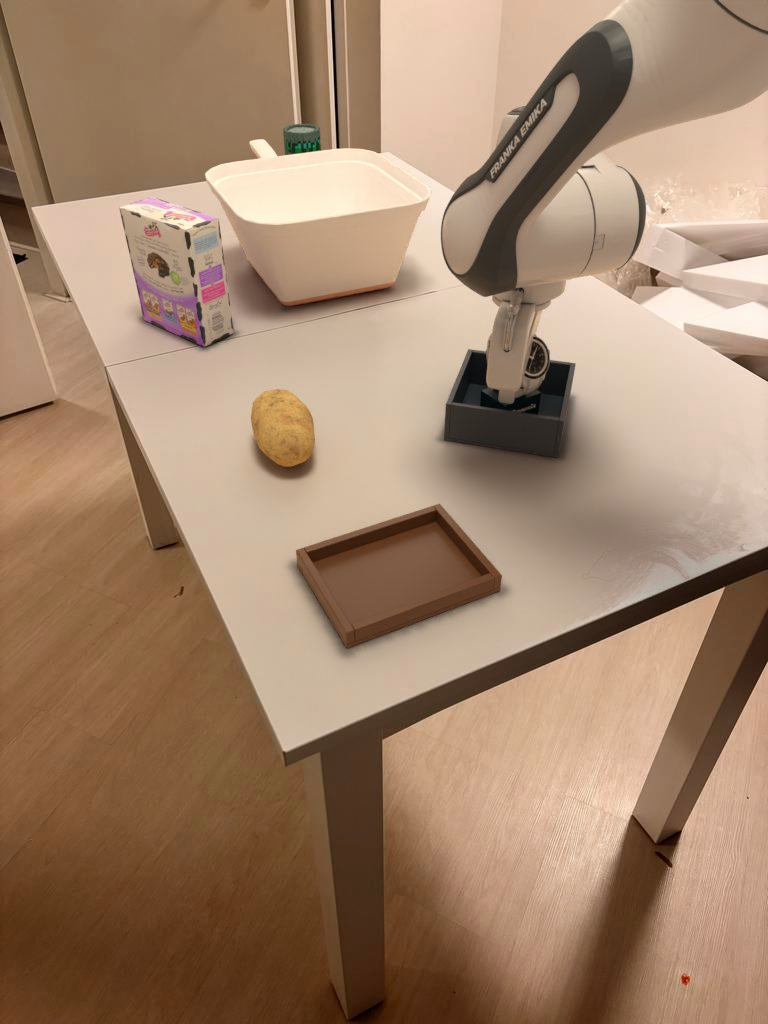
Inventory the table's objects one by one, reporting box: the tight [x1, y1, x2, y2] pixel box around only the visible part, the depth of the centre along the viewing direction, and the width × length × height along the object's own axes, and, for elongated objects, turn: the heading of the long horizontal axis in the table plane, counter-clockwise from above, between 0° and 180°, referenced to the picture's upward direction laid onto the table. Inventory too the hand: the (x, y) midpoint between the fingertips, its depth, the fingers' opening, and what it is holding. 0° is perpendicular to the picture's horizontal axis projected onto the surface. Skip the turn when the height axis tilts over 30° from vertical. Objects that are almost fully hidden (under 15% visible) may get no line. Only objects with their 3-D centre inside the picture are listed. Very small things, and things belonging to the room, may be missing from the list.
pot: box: [204, 138, 433, 307], centre depth 128 cm, size 29×44×15 cm, turn 24°
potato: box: [250, 388, 316, 468], centre depth 89 cm, size 7×11×6 cm, turn 18°
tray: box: [295, 503, 503, 649], centre depth 75 cm, size 16×12×2 cm
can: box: [282, 123, 322, 155], centre depth 144 cm, size 6×6×15 cm
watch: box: [480, 332, 551, 415], centre depth 93 cm, size 6×8×11 cm
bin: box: [443, 348, 577, 459], centre depth 95 cm, size 13×13×5 cm
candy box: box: [118, 196, 235, 348], centre depth 109 cm, size 14×6×16 cm, turn 51°
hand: (511, 384), depth 93 cm, fingers closed on watch, 5 cm apart
